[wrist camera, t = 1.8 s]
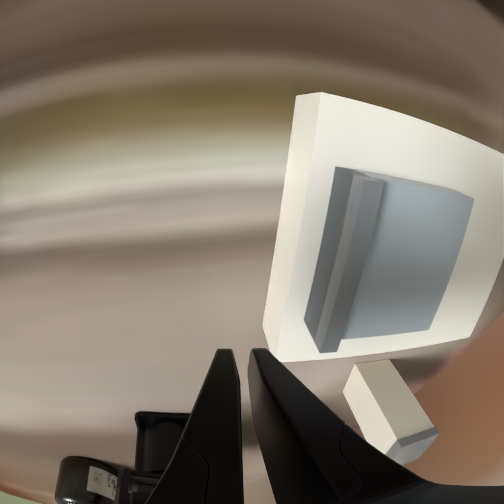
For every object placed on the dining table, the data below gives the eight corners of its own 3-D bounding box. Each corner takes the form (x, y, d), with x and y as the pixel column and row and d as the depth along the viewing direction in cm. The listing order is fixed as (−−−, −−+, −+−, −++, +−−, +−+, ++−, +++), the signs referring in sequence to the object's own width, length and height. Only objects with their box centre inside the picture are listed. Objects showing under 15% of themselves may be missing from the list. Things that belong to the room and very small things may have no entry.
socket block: (262, 325, 23) (273, 362, 20) (296, 95, 17) (320, 92, 13) (446, 313, 27) (469, 336, 23) (494, 156, 20) (528, 167, 17)
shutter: (303, 320, 18) (319, 353, 16) (335, 166, 15) (364, 179, 12) (413, 313, 20) (436, 338, 17) (452, 189, 16) (486, 204, 14)
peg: (341, 392, 29) (379, 472, 20) (354, 363, 27) (401, 447, 18) (375, 386, 29) (417, 459, 20) (390, 358, 28) (440, 433, 19)
